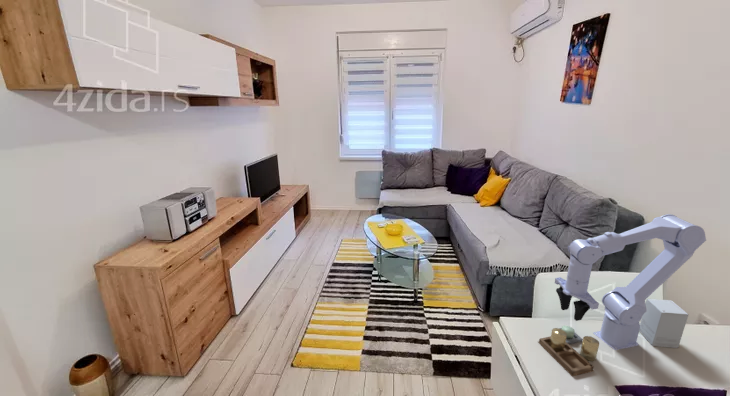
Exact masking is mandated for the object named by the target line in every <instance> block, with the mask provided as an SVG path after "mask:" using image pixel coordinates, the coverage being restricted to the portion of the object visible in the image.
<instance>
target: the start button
mask: <svg viewBox="0 0 730 396" xmlns="http://www.w3.org/2000/svg"><path fill="white" fill-rule="evenodd" d="M561 328H562V330H564V331H565V332H566V333H567V337H566V339H574V338H575V337H574V333H576V332H575V329H574V328H573V327H571V326H569V325H562V326H561Z"/></svg>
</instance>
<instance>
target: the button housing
mask: <svg viewBox="0 0 730 396" xmlns="http://www.w3.org/2000/svg"><path fill="white" fill-rule="evenodd" d="M559 329H562V327H560V328H559ZM566 342H567V343H568V344H569V345H573V344H577V343H582V342H583V338H582V337H581V336H580V335H578V334H577V332H575V333H574V337H573V338H568V339H566Z"/></svg>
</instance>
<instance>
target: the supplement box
mask: <svg viewBox="0 0 730 396" xmlns="http://www.w3.org/2000/svg"><path fill="white" fill-rule="evenodd" d="M645 303H646V308H647V311H646V312H645V313H644V314H643V316H642V318H641V320H640V322H639V323H640V330H639V332H640V334H641V333H642V334H643V335H642V334H641V335H642V336H643V337H644V338H645V339H646V340H647V342H648V343H649V344H650V345H651V346H654V347H663V348H664V347H665V348H673V349H678V348H679V347H680V343H681V340H682V337H683V335H684V330H685V327H686V323H687V321H688V317H689V314H688V312H686V310H684V309H683V308H682V307H680V306H679V305H678V304H677V303H676V302H674V301H673V300H671V299H655V298H654V299H651V298H647V299H645Z"/></svg>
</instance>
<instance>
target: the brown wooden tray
mask: <svg viewBox="0 0 730 396" xmlns="http://www.w3.org/2000/svg"><path fill="white" fill-rule="evenodd" d="M550 339H551V335H550V336H546V337H541V338H539V340H538V341H537V343H538V345H540V346H541V347H542V348H543V349H544V350H545V351H546V352H547V353H548V354H549V355H550V356H551V357H552V358H553V360H554V361H556V362H557V364H559V365H560V366H561V367H562V368H563V369H564V370H565V371H566V372H567V373H568V374H569V375H570V377H576V376H580V375H583V374H588V373H592V372H593V373H594V372H595V370H594V368H595V367H594V366H593V364H591V362H590V361H587V360H586V359H585V358H583V357H582V356H581V355H580V352H578V351H577V350H576V349H575V348H574V347H573V346H571V344H568V343H567V342H565V348H564V351H561V352H555V351H554V350H553V349H552V348H551V347H550V346H549V345H550Z"/></svg>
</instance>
